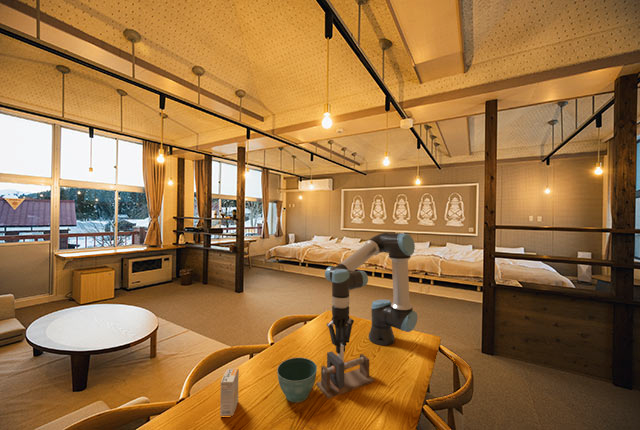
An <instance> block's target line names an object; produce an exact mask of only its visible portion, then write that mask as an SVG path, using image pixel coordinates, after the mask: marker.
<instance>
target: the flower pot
mask: <svg viewBox="0 0 640 430" xmlns="http://www.w3.org/2000/svg"><path fill="white" fill-rule="evenodd" d="M317 369H318V367H317V364H316V363H315V362H314V361H313V360H312V359H309V358H306V357H291V358H288V359H286V360H283V361H281V362H280V364H279V365H278V367H277V370H276V371H277V372H276V373H277V380H278V384H279V387H280V389H281V391H282V393H283V394H284V395H285V398H286V400H287V401H289V402H290V403H296V404H297V403H301V402H304V401H306V399H308V397H309V394H310V392H311V391H312V389H313V387H314V385H315V382H316V377H317Z"/></svg>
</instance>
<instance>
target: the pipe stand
mask: <svg viewBox="0 0 640 430" xmlns="http://www.w3.org/2000/svg"><path fill="white" fill-rule="evenodd" d="M357 366H359V368H356V369H353V370H351V371H347V372H344V387H342V388H340V389H339V388H338V387H337V386H336V385H335V384H334V383H333V381H332V380H331V379H330V374H335V373H336V367H335V366H334V365H333V366H331V367H329V368H327V366H325V365H322V366H320V372H321V373H320V375H321V376H320V377H321V378H320V381H318V382H316V386H317V387H318V389H319V390H320V391H321V393H322V394H323V395H324V396H325V398H326V399H327V400H330V399H333V398H335V397H338V396H340V395H342V394H346V393H347V392H350V391H353V390H356V389H358V388H361V387H364V386H366V385H369V384H372V383H374V382H375V380H376V379H375V378H374V377H372V375H370V358H368V357H367V356H365V355H364V354H363V353H361V354H359V358H358V357H357V358H355V359H352V360H349V361H346V362H344V371H345V370H349V369H351V368H354V367H357Z"/></svg>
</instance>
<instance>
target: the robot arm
mask: <svg viewBox="0 0 640 430" xmlns="http://www.w3.org/2000/svg"><path fill="white" fill-rule="evenodd" d="M415 247H416V246H415V241H414V239H413V237H412V236H411V235H410V234H408V233H403V232H382V233H378V234H376V235H374V236H373V237H371V238H369V239H368V240H367V241H365V244H364V245H363V246H360V248H358V249H357V250H356V251H355V252H353V253H352V254H350V255H349V256H348V257H347V258H345V259H343V260H342V261H340V263H339V264H337V265H336V266H332V265H331V266H328V267H327V268H326V269H325V271H324V278H325V280H326V281H328V282H330V283H331V298H332V299H331V315H332V316H331V321H330V322H327V323H326V326H327V328H328V330H329V335H330V341H331V343H332V345H333V346H335V352H336V353H337V356H338V357H339V358H340V359H341V360H342V361H343V362H344V361H345V360H344V359H345V357H344V356H345V354H344V353H345V352H346V346H347V345H348V344H349V343H350V338H351V333H352V327H353V324H354V322H355V320H354V319H352V318H351V317H350V290H351V291H352V290H355V289H361V288H363V287H365V286H366V285H368V282H369V277H368V274H367V272H365V271H364V270H357V269H359V268H360V267H361V266H362V265H363V264H364V263H366V262H367V261H368V260H369V259H371V258H372V257H373V256H377V255H378V254H381V253H387V254H388V258H389V259H390V260H391V270H392V271H391V274H392V275H391V276H392V293H393V294H392V298H393V302H392V300H389V299H377V300H373V301H372V303H371V327H370V330H369V333H368V340H369V341H370V342H371V343H373V344H375V345H379V346H391V345H393V344H395V341H396V340H395V335H394V331H393V328H394V329H397V330H400V331H403V332H406V333H410V332H412V331H413V330H414V329H415V328H416V325H417V321H418V313H417V312H416V311H415V310H413V305H412V303H411V302H410V285H409V282H410V281H409V279H410V278H409V260H410V259H411V256H412V255H413V254H414V253H415Z"/></svg>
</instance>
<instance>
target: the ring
mask: <svg viewBox="0 0 640 430" xmlns="http://www.w3.org/2000/svg"><path fill="white" fill-rule="evenodd" d="M344 363H345V362H344V361H342V360H341V359H340V358H339V357H338V354H336V353H334V352H333V351H329V352H326V368H329V367H331V366H333V365H334V366H335V367H336V373H335V374H330V379H331V380H332V381H333V383H334V384H335V385H336V386H337V387H338V388H339V389H340V388H342V387H344V373H345V370H344Z"/></svg>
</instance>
